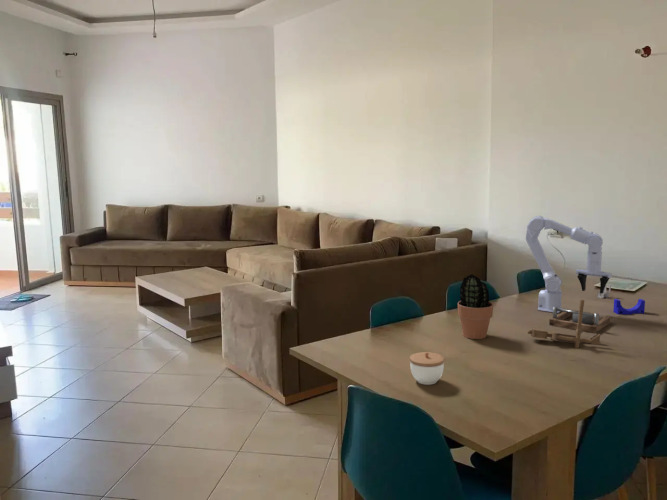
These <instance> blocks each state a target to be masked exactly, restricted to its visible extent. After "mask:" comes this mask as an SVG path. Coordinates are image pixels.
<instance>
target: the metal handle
mask: <svg viewBox="0 0 667 500" xmlns="http://www.w3.org/2000/svg"><path fill="white" fill-rule="evenodd" d="M557 311H561V313H562V312H568V313H571V314H573V313H574V314H579V311H576V310H571V309H565V308H563V309H558V308H557V307H553V312H552V318H557V315H558V313H557ZM583 315H586V316H593V325H598V324H599V321H600V320H599V319H600V314H599V313H597V312H596V313H591V314H590V312H586V313H583Z"/></svg>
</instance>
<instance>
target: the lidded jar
mask: <svg viewBox="0 0 667 500" xmlns="http://www.w3.org/2000/svg"><path fill="white" fill-rule="evenodd" d="M409 364H410V366H409V367H410V372H411V374H412V376H413V379H414V380H416V381H417V383H418V384H420V385H426V386H429V385H434V384H437V382H438V381H439V380H440V379H441V377H442V375H443V373H444V367H445V358H444V356H443V355H441V354H439V353H437V352H436V353H435V352H430V351H423V352H421V351H420V352H416V353H415V352H414V353H413V354H410V356H409Z"/></svg>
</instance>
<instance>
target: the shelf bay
mask: <svg viewBox="0 0 667 500" xmlns="http://www.w3.org/2000/svg"><path fill="white" fill-rule="evenodd" d="M571 314H572V313H568V312H562V311H561V312H559V313H557V318H553V317H551V318H550V319H549V321H548V322H549V324H548V325H549V326H552V327H558V328H563V329H564V328H565V329H569V330H574V331H576V329H577V325H578V323H575V322H573V321H568V320H565V319H568V318H569V317H571ZM611 318H612V316H609V315H607V316H606V315H605V316H604V317H603V318H601V319H600V320H599V324H598V325H594V324H590V325H586V324H582V325H581V330H582V332H584V333H585V332H586V333H591V334H597V333H598V332H599V331H601V330H602V329H603V328H605V327H606V326H608V325H609V324H610V323H611Z"/></svg>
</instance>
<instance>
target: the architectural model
mask: <svg viewBox="0 0 667 500" xmlns="http://www.w3.org/2000/svg"><path fill="white" fill-rule="evenodd" d="M611 287H612V285H610V284H609V285H608V291H607V285H606V286H605V288H604V292H603V293H602V294H601V293H600V291H597V299H598V298H599V299H604V298H609V296H610V295H609V293H611Z"/></svg>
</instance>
